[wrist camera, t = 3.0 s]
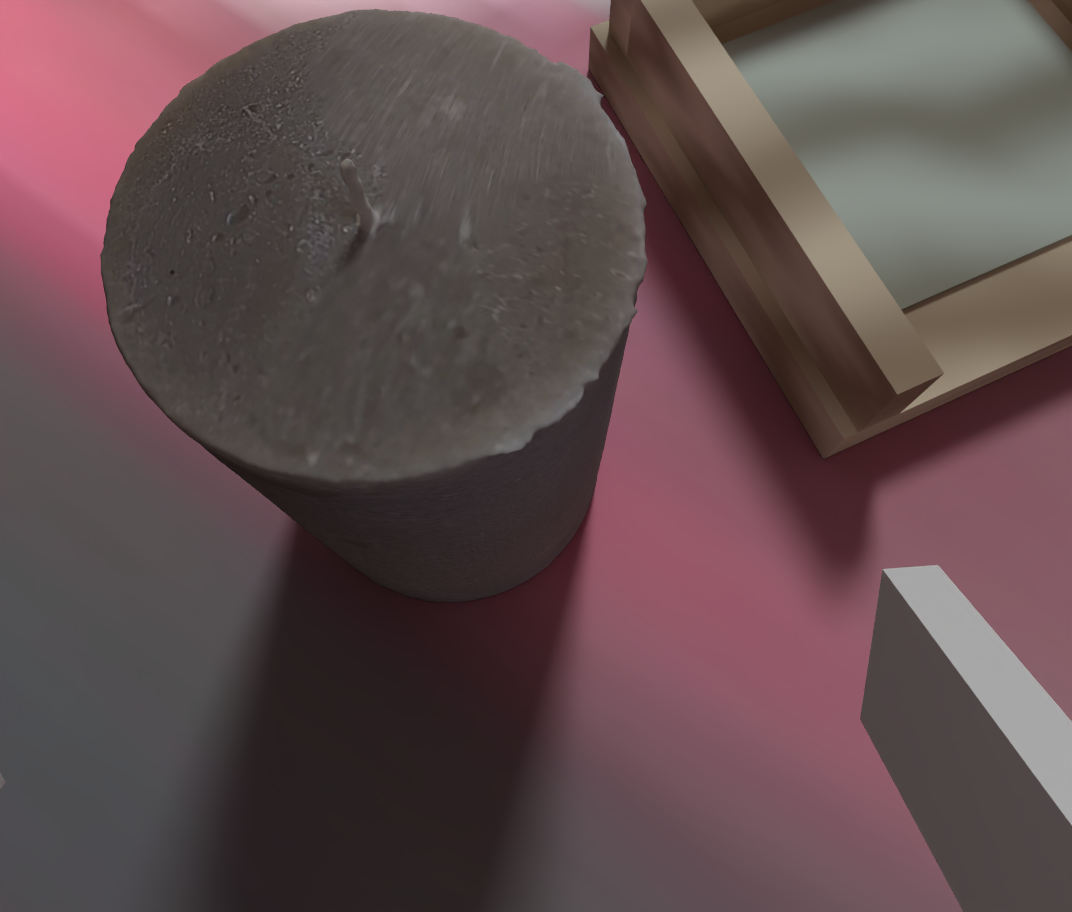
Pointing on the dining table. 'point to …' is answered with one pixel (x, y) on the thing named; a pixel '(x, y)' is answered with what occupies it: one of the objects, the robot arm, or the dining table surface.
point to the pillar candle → (388, 289)
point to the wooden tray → (863, 185)
